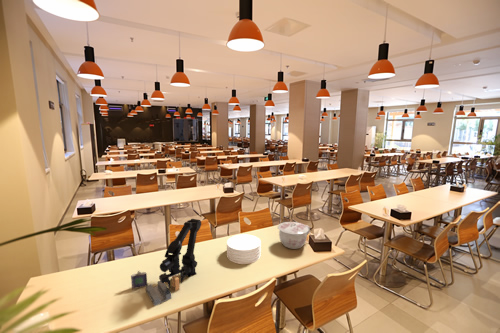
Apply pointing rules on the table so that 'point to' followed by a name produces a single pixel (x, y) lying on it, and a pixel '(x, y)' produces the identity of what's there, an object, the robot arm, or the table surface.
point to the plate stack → (243, 248)
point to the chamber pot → (293, 234)
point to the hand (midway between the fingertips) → (175, 285)
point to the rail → (158, 293)
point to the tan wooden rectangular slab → (175, 282)
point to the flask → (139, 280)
